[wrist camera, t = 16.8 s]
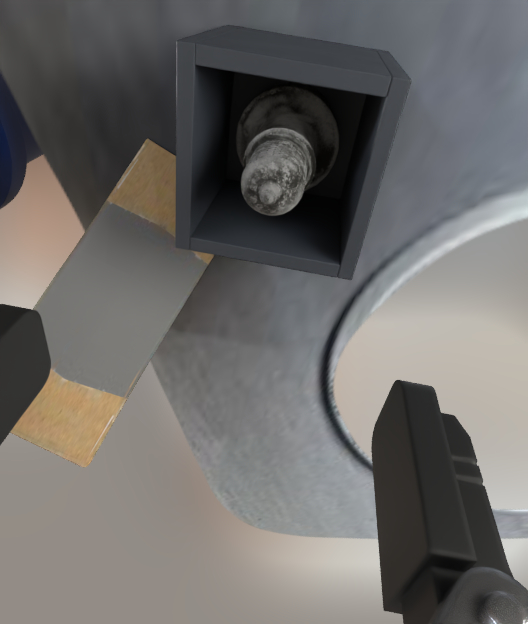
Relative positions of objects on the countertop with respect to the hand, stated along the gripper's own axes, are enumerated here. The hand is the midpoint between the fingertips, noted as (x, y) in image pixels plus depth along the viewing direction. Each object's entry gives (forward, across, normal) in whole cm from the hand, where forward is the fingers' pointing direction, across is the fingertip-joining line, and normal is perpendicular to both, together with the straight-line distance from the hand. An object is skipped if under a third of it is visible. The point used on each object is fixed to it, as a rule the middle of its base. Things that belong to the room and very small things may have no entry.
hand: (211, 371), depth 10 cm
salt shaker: (+22, 0, 0) cm, 22 cm away
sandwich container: (+23, +10, +11) cm, 27 cm away
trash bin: (+23, 0, 0) cm, 23 cm away
